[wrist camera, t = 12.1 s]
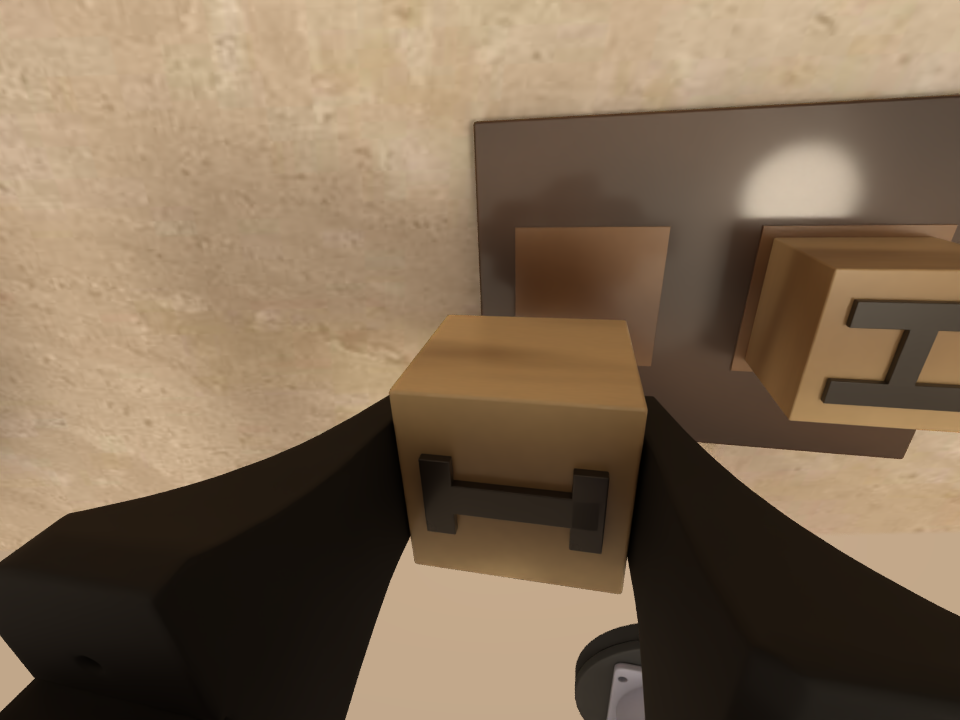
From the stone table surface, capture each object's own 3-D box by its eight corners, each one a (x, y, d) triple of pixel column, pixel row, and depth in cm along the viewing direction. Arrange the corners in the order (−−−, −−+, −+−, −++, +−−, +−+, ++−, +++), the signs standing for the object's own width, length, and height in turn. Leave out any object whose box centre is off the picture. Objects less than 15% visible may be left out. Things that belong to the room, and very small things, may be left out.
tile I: (611, 467, 12) (622, 605, 9) (458, 453, 13) (410, 572, 10) (626, 319, 11) (650, 415, 7) (447, 313, 11) (382, 396, 8)
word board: (887, 444, 18) (905, 462, 17) (489, 413, 21) (484, 426, 20) (1041, 91, 12) (1079, 87, 11) (478, 122, 16) (472, 121, 15)
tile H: (884, 367, 15) (979, 438, 12) (744, 360, 16) (791, 425, 13) (935, 236, 13) (1069, 273, 10) (773, 237, 14) (839, 270, 11)
